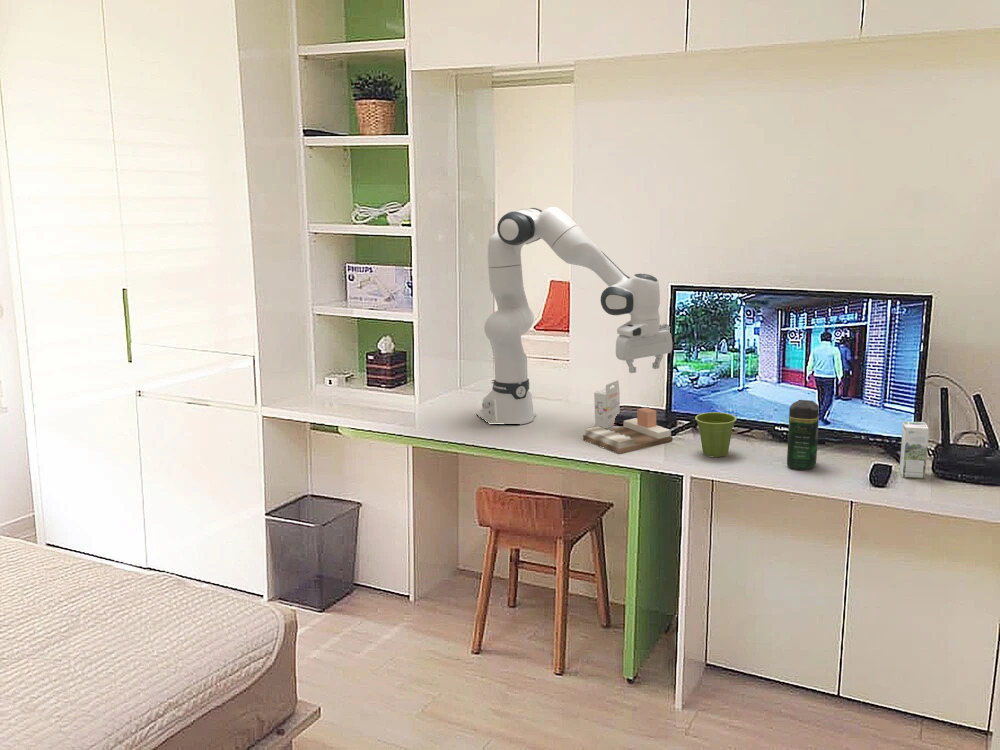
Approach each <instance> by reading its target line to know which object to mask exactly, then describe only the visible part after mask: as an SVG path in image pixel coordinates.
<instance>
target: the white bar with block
mask: <svg viewBox="0 0 1000 750" xmlns="http://www.w3.org/2000/svg"><path fill="white" fill-rule="evenodd" d="M636 410H637V413H636V415H637V416H636V417H635V418H630V419H626V420H623V426H624V427H626V428H629V429H631V430H634V431H637V432H640V433H643V434H645V435H648V436H651V437H654V438H657V439H661V438H665V437H670V436H672V430H671V429H669V428H666V427H664V426H660V425H658V424H657V410H655V409H652V408H649V407H642V408H637V409H636Z"/></svg>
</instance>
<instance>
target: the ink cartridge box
mask: <svg viewBox="0 0 1000 750" xmlns="http://www.w3.org/2000/svg"><path fill="white" fill-rule="evenodd" d="M612 386H613V387H612ZM593 394H594V397H593V398H594V427H599V426H602V427H604V428H607V429H609V428H611V427H613V426H615V425H616V424H614V423H615V418H616V416H617V414H619V413H620V409H621V407H620V406H621V404H620V403H621V401H620V399H621V397H620V394H621V393H620V382H619V380H618V379H617V380H614V381H612V382H610V383H607V384H606V385H605V388H602V389H600V390H597V391H596V392H595V391H594V393H593ZM620 414H621V413H620Z"/></svg>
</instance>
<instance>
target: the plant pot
mask: <svg viewBox="0 0 1000 750" xmlns="http://www.w3.org/2000/svg"><path fill="white" fill-rule="evenodd" d="M737 418H738V417H737V416H735V415H733V414H732V413H726V412H717V411H716V412H714V411H713V412H703V413H702V412H701V413H700V414H697V415H696V416H695V417H694V419H695V421H696V422H697V423H696V424H697V427H698V431H699V436H700V441H701V442H700V443H701V449H702V453H703V455H705V456H706V455H707V456H706V457H708V456H713V457H712V458H720V457H726V456H728V454H729V449H730V444H731V440H732V433H733V429H734V426H735V422H736V421H737Z"/></svg>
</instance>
